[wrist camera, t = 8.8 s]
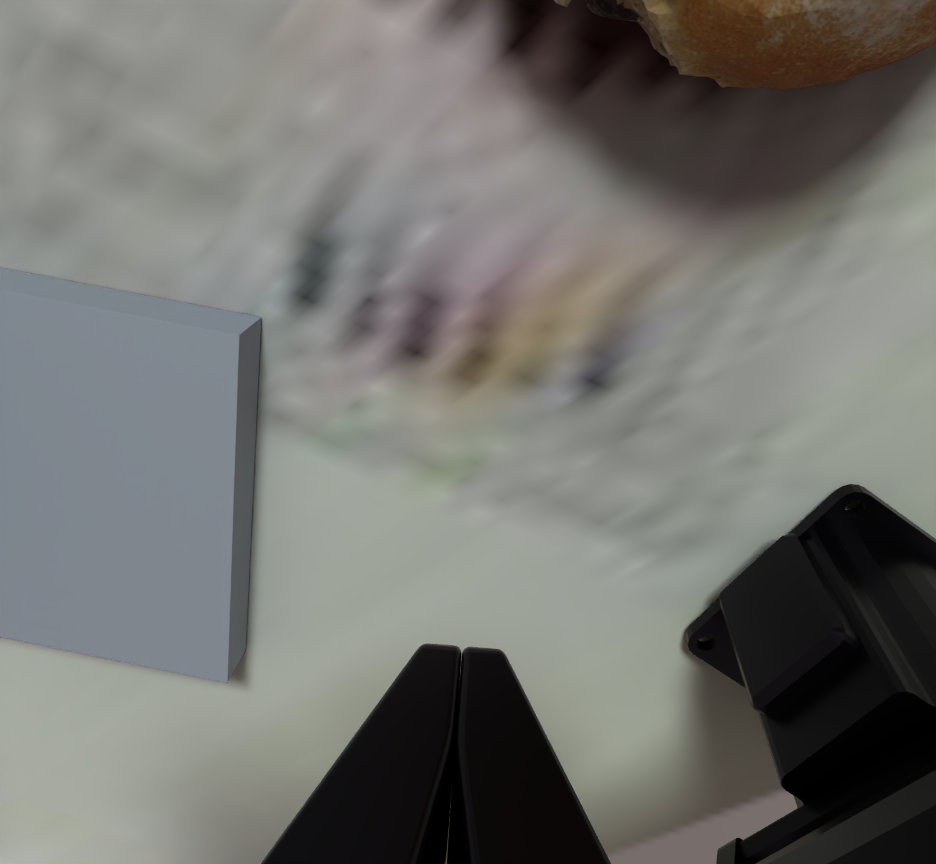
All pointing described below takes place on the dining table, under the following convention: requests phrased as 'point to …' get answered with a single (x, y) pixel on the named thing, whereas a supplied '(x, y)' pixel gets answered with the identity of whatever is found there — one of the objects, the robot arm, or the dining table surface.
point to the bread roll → (778, 36)
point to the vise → (126, 474)
